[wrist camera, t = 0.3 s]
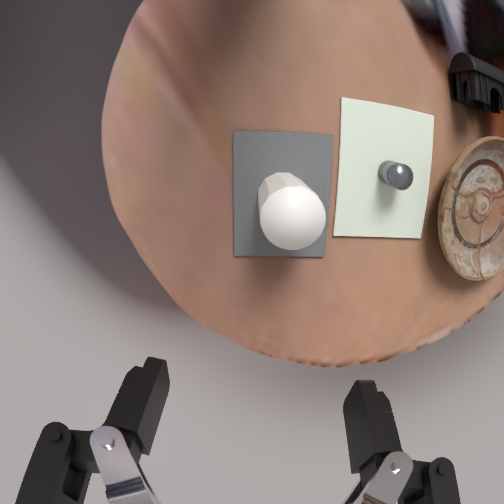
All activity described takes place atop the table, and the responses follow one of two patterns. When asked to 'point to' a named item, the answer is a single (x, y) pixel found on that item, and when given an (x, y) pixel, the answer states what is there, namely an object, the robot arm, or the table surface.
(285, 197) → the white lidded canister
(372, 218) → the board
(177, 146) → the table surface
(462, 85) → the end cap
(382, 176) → the peg
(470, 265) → the ceramic bowl
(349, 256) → the table surface
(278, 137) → the mat
